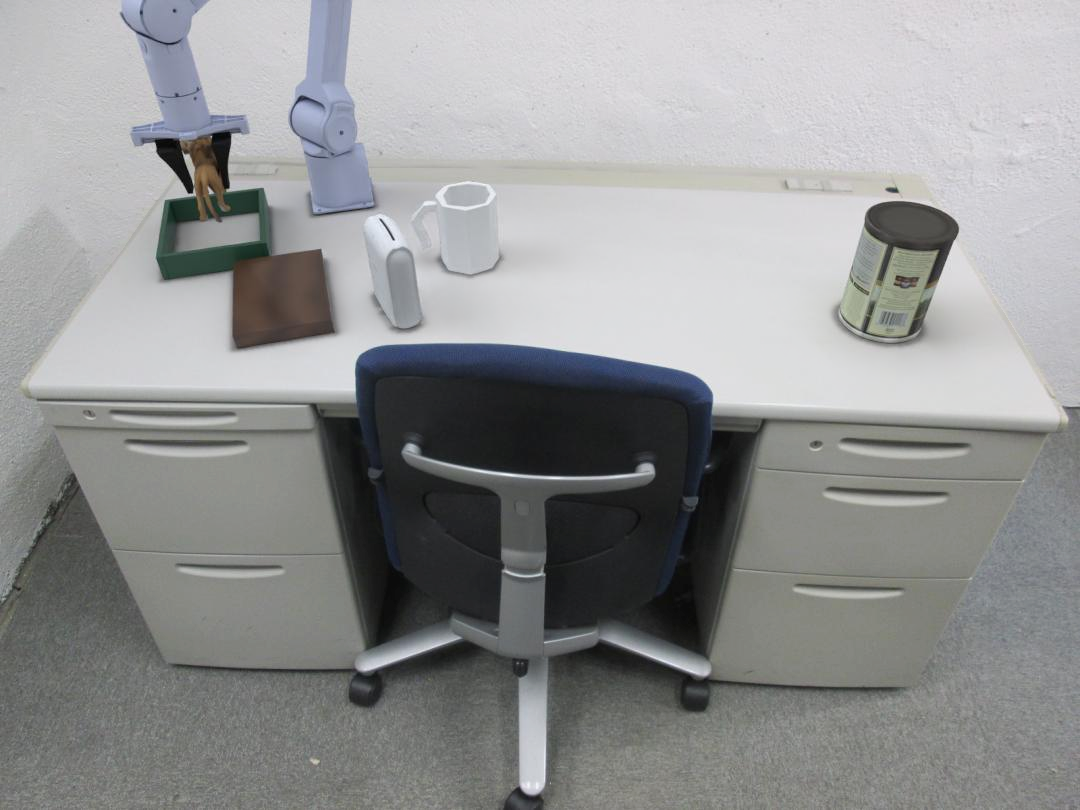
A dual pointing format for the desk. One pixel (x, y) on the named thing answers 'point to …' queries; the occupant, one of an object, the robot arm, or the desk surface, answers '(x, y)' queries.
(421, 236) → the mug
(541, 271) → the desk surface
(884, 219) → the coffee can
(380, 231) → the photo printer
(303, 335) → the stand
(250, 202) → the storage box
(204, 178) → the lion figurine
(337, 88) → the robot arm
